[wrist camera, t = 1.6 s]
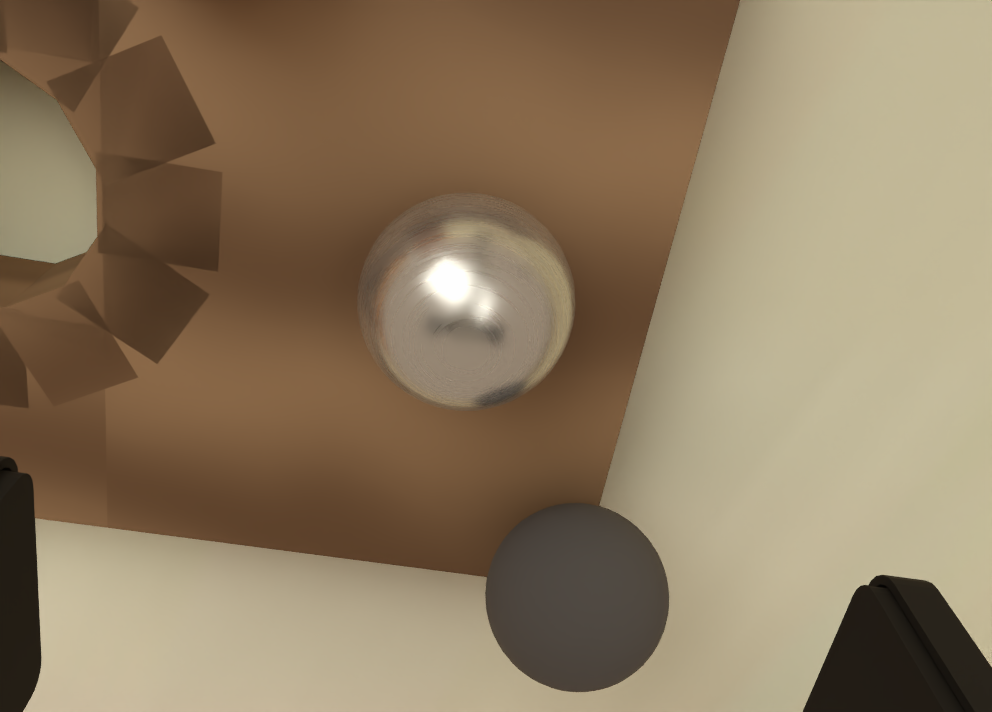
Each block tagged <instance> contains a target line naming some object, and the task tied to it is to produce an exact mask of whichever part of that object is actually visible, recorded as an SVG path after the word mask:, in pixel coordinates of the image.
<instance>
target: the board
mask: <svg viewBox="0 0 992 712" xmlns="http://www.w3.org/2000/svg"><path fill="white" fill-rule="evenodd" d="M739 2H740V0H0V60H2V61H3V62H4V63H6V64H7V65H9V66H10V67H11V68H13V69H14V70H16V71H17V72H18V73H20V74H21V75H23V76H24V77H25V78H27V79H28V80H29V81H31V82H32V83H34V84H35V85H36V86H38V87H39V88H41V89H42V90H43V91H45V92H46V93H48V94H49V95H50V96H52V97H53V98H55V99H56V100H57V101H58V103H59V105H60V107H61V108H62V110H63V112H64V114H65V115H66V117H67V119H68V121H69V122H70V124H71V126H72V128H73V129H74V131H75V133H76V135H77V136H78V138H79V140H80V142H81V143H82V145H83V147H84V149H85V150H86V152H87V154H88V156H89V157H90V159H91V161H92V163H93V164H94V166H95V168H96V187H97V238H96V239H95V241H94V242H93V244H92V245H91V247H90V248H89V250H88V251H87V252H86V253H83V254H80V255H78V256H75V257H72V258H70V259H67V260H64V261H62V262H59V263H56V264H53V263H47V262H40V261H34V260H28V259H21V258H15V257H8V256H2V255H0V456H4V457H10V458H12V459H14V460H15V462H16V464H17V467H18V472H21V473H27V474H29V475H30V476H31V478H32V480H33V488H34V510H35V518H38V519H46V520H54V521H61V522H69V523H77V524H84V525H92V526H100V527H108V528H115V529H123V530H131V531H138V532H146V533H154V534H161V535H169V536H177V537H184V538H192V539H200V540H207V541H215V542H223V543H230V544H238V545H246V546H254V547H261V548H269V549H277V550H284V551H292V552H300V553H307V554H315V555H323V556H330V557H338V558H346V559H353V560H361V561H369V562H376V563H384V564H392V565H400V566H407V567H415V568H423V569H430V570H438V571H446V572H453V573H461V574H469V575H476V576H484V577H487V575H488V572H489V569H490V565H491V562H492V559H493V557H494V555H495V553H496V551H497V549H498V547H499V546H500V544H501V543H502V541H503V540H504V538H505V537H506V536H507V535H508V534H509V533H510V531H511V530H512V529H513V528H514V527H515V526H516V525H517V524H519V523H520V522H521V521H522V520H524V519H525V518H527V517H528V516H530V515H532V514H534V513H536V512H538V511H540V510H542V509H545V508H547V507H550V506H554V505H558V504H566V503H584V504H591V505H596V506H599V504H600V500H601V496H602V493H603V489H604V486H605V482H606V478H607V475H608V471H609V468H610V464H611V461H612V457H613V453H614V450H615V446H616V443H617V439H618V435H619V432H620V428H621V425H622V421H623V418H624V414H625V410H626V407H627V403H628V400H629V396H630V392H631V389H632V385H633V382H634V378H635V375H636V371H637V367H638V364H639V360H640V357H641V353H642V350H643V346H644V342H645V339H646V335H647V332H648V328H649V324H650V321H651V317H652V314H653V310H654V307H655V303H656V299H657V296H658V292H659V289H660V285H661V281H662V278H663V274H664V271H665V267H666V264H667V260H668V256H669V253H670V249H671V246H672V242H673V238H674V235H675V231H676V228H677V224H678V221H679V217H680V213H681V210H682V206H683V203H684V199H685V195H686V192H687V188H688V185H689V181H690V178H691V174H692V170H693V167H694V163H695V160H696V156H697V152H698V149H699V145H700V142H701V138H702V135H703V131H704V127H705V124H706V120H707V117H708V113H709V109H710V106H711V102H712V99H713V95H714V92H715V88H716V84H717V81H718V77H719V74H720V70H721V66H722V63H723V59H724V56H725V52H726V49H727V45H728V41H729V38H730V34H731V31H732V27H733V24H734V20H735V16H736V13H737V9H738V6H739ZM453 193H479V194H486V195H490V196H495V197H499V198H501V199H504V200H507V201H509V202H512V203H513V204H515V205H517V206H519V207H521V208H523V209H524V210H526V211H527V212H529V213H530V214H531V215H533V216H534V217H535V218H536V219H537V220H538V221H540V222H541V223H542V224H543V225H544V226H545V227H546V228H547V229H548V230H549V232H550V233H551V234H552V235H553V237H554V238H555V239H556V241H557V242H558V244H559V246H560V247H561V249H562V251H563V253H564V255H565V258H566V260H567V262H568V264H569V267H570V270H571V274H572V278H573V282H574V290H575V315H574V321H573V326H572V330H571V333H570V337H569V340H568V343H567V345H566V347H565V349H564V351H563V353H562V355H561V357H560V358H559V360H558V361H557V363H556V364H555V366H554V367H553V369H552V370H551V371H550V372H549V373H548V375H547V376H546V377H545V378H544V379H543V380H542V381H541V382H540V383H539V384H538V385H536V386H535V387H534V388H533V389H531V390H530V391H528V392H527V393H525V394H524V395H522V396H520V397H519V398H517V399H515V400H513V401H511V402H508V403H506V404H503V405H501V406H497V407H494V408H490V409H484V410H477V411H457V410H448V409H444V408H439V407H436V406H433V405H429V404H427V403H424V402H422V401H420V400H418V399H416V398H414V397H412V396H411V395H409V394H408V393H406V392H404V391H403V390H402V389H400V388H399V387H398V386H397V385H395V384H394V383H393V382H392V381H391V380H390V379H389V378H388V377H387V376H386V375H385V374H384V373H383V372H382V370H381V369H380V368H379V366H378V365H377V364H376V362H375V360H374V359H373V357H372V355H371V353H370V352H369V350H368V348H367V346H366V343H365V341H364V338H363V336H362V331H361V327H360V323H359V318H358V308H357V296H358V286H359V280H360V275H361V271H362V268H363V265H364V263H365V260H366V258H367V256H368V254H369V252H370V250H371V248H372V246H373V244H374V243H375V241H376V240H377V238H378V237H379V236H380V234H381V233H382V232H383V231H384V230H385V228H386V227H387V226H388V225H389V224H390V223H391V222H392V221H394V220H395V219H396V218H397V217H399V216H400V215H401V214H402V213H404V212H405V211H406V210H408V209H410V208H411V207H413V206H415V205H416V204H419V203H421V202H423V201H426V200H428V199H431V198H434V197H438V196H441V195H446V194H453Z"/></svg>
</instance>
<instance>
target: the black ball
mask: <svg viewBox="0 0 992 712" xmlns="http://www.w3.org/2000/svg"><path fill="white" fill-rule="evenodd" d="M485 594H486V609H487V615H488V619H489V623H490V626H491V629H492V632H493V634H494V636H495V638H496V640H497V642H498V644H499V646H500V647H501V649H502V651H503V652H504V653H505V654H506V656H507V657H508V658H509V659H510V661H511V662H512V663H513V664H514V665H515V666H516V667H517V668H518V669H519V670H521V671H522V672H523V673H524V674H526V675H527V676H529V677H530V678H532V679H533V680H535V681H537V682H539V683H541V684H544V685H546V686H549V687H551V688H554V689H558V690H563V691H569V692H588V691H596V690H600V689H604V688H607V687H610V686H613V685H615V684H617V683H619V682H621V681H623V680H625V679H626V678H628V677H629V676H630V675H632V674H633V673H635V672H636V671H637V670H638V669H639V668H640V667H641V666H643V665H644V663H645V662H646V661H647V660H648V659H649V657H650V656H651V655H652V653H653V652H654V650H655V649H656V647H657V645H658V643H659V641H660V639H661V636H662V634H663V632H664V629H665V625H666V621H667V616H668V609H669V590H668V583H667V578H666V574H665V570H664V567H663V565H662V562H661V560H660V558H659V555H658V553H657V552H656V550H655V549H654V547H653V545H652V544H651V542H650V541H649V539H648V538H647V537H646V536H645V535H644V534H643V533H642V532H641V531H640V530H639V529H638V528H637V527H636V526H635V525H634V524H633V523H631V522H630V521H629V520H627V519H626V518H624V517H622V516H621V515H619V514H618V513H616V512H613V511H611V510H609V509H606V508H603V507H600V506H596V505H591V504H584V503H566V504H558V505H554V506H550V507H547V508H545V509H542V510H540V511H538V512H536V513H534V514H532V515H530V516H528V517H527V518H525V519H524V520H522V521H521V522H520V523H519V524H517V525H516V526H515V527H514V528H513V529H512V530H511V531H510V533H509V534H508V535H507V536H506V537H505V538H504V540H503V541H502V543H501V544H500V546H499V547H498V549H497V551H496V553H495V555H494V557H493V559H492V562H491V565H490V569H489V572H488V575H487V582H486V592H485Z"/></svg>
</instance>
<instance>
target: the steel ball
mask: <svg viewBox="0 0 992 712" xmlns="http://www.w3.org/2000/svg"><path fill="white" fill-rule="evenodd" d="M357 308H358V318H359V323H360V327H361V331H362V336H363V338H364V341H365V343H366V346H367V348H368V350H369V352H370V353H371V355H372V357H373V359H374V360H375V362H376V364H377V365H378V366H379V368H380V369H381V370H382V372H383V373H384V374H385V375H386V376H387V377H388V378H389V379H390V380H391V381H392V382H393V383H394V384H395V385H397V386H398V387H399V388H400V389H402V390H403V391H404V392H406V393H408V394H409V395H411V396H412V397H414V398H416V399H418V400H420V401H422V402H424V403H427V404H429V405H433V406H436V407H439V408H444V409H448V410H457V411H477V410H484V409H490V408H494V407H497V406H501V405H503V404H506V403H508V402H511V401H513V400H515V399H517V398H519V397H520V396H522V395H524V394H525V393H527V392H528V391H530V390H531V389H533V388H534V387H535V386H536V385H538V384H539V383H540V382H541V381H542V380H543V379H544V378H545V377H546V376H547V375H548V373H549V372H550V371H551V370H552V369H553V367H554V366H555V364H556V363H557V361H558V360H559V358H560V357H561V355H562V353H563V351H564V349H565V347H566V345H567V343H568V340H569V337H570V333H571V330H572V326H573V321H574V315H575V290H574V282H573V278H572V274H571V270H570V267H569V264H568V262H567V260H566V258H565V255H564V253H563V251H562V249H561V247H560V246H559V244H558V242H557V241H556V239H555V238H554V237H553V235H552V234H551V233H550V232H549V230H548V229H547V228H546V227H545V226H544V225H543V224H542V223H541V222H540V221H538V220H537V219H536V218H535V217H534V216H533V215H531V214H530V213H529V212H527V211H526V210H524V209H523V208H521V207H519V206H517V205H515V204H513V203H512V202H509V201H507V200H504V199H501V198H499V197H495V196H490V195H486V194H479V193H453V194H446V195H441V196H438V197H434V198H431V199H428V200H426V201H423V202H421V203H419V204H416V205H415V206H413V207H411V208H410V209H408V210H406V211H405V212H404V213H402V214H401V215H400V216H399V217H397V218H396V219H395V220H394V221H392V222H391V223H390V224H389V225H388V226H387V227H386V228H385V230H384V231H383V232H382V233H381V234H380V236H379V237H378V238H377V240H376V241H375V243H374V244H373V246H372V248H371V250H370V252H369V254H368V256H367V258H366V260H365V263H364V265H363V268H362V271H361V275H360V280H359V286H358V296H357Z"/></svg>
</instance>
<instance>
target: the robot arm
mask: <svg viewBox="0 0 992 712" xmlns="http://www.w3.org/2000/svg"><path fill="white" fill-rule="evenodd" d="M40 668H41V642H40V620H39V598H38V576H37V554H36V532H35V510H34V488H33V480H32V478H31V476H30V475H29V474H27V473H21V472H18V467H17V464H16V462H15V460H14V459H12V458H10V457H4V456H0V712H23V710H24V709H25V707H26V705H27V703H28V702H29V700H30V698H31V696H32V694H33V692H34V690H35V687H36V684H37V682H38V678H39V674H40ZM803 712H992V667H991V666H990V664H989V663H988V661H987V660H986V658H985V657H984V656H983V654H982V653H981V651H980V650H979V648H978V647H977V645H976V644H975V643H974V641H973V640H972V638H971V637H970V635H969V634H968V632H967V631H966V630H965V628H964V627H963V625H962V624H961V622H960V621H959V619H958V618H957V616H956V615H955V614H954V612H953V611H952V609H951V608H950V606H949V605H948V603H947V602H946V601H945V599H944V598H943V596H942V595H941V593H940V592H939V590H938V589H937V588H936V587H935V586H934V585H933V584H932V583H930V582H928V581H924V580H917V579H909V578H902V577H894V576H887V575H880V576H876V577H875V578H874V579H873V580H871V582H870V584H869V585H863V586H860V587H859V588H858V589H857V590H856V591H855V593H854V595H853V597H852V599H851V602H850V604H849V606H848V608H847V611H846V613H845V615H844V618H843V620H842V622H841V625H840V627H839V629H838V632H837V634H836V636H835V638H834V641H833V643H832V645H831V648H830V650H829V652H828V655H827V657H826V659H825V662H824V664H823V666H822V668H821V671H820V673H819V675H818V678H817V680H816V682H815V685H814V687H813V689H812V692H811V694H810V696H809V698H808V701H807V703H806V705H805V708H804V710H803Z"/></svg>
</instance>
